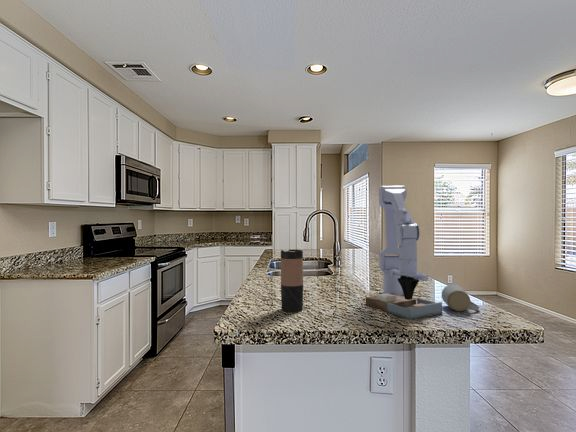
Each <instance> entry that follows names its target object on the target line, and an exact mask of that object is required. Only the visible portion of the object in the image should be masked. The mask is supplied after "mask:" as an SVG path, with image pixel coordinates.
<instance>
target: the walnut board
mask: <svg viewBox="0 0 576 432" xmlns="http://www.w3.org/2000/svg"><path fill="white" fill-rule="evenodd" d="M391 295H395V296H396V301H390V302H384V301H381V300H378V299H377V295H371V296H370V295H369V296H366V297H365V305H368V306H371V307H373V308H377V309H379V310H382V311H385V312H387V303H391V304H394V305H398V306H401V307H409V306H412V305H415V304H417V298H413V297H412V299H410V300H407V299H405V297H404V295H397V294H394V293H391Z"/></svg>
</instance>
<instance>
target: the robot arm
mask: <svg viewBox="0 0 576 432" xmlns="http://www.w3.org/2000/svg"><path fill="white" fill-rule="evenodd" d="M407 192H408V191H407V187H406V186H405V185H404V184H403V185H381V186H380V187H379V190H378V204H379V207H381V208H383V211H384V231H385V248H383V249H382V250H381V251H380V252H379V253H378V255H379V256H378V257H379V258H378V268H379V270H380V271H381V272H382V281H383V282H382V283H383V285H382V286H383V290H379V291H378V293H379V294H385V293H387V294H391V293H394V294H397V295H401V296H404V297H405V299H407V300H410V299H412V298H413V296H414V293H415V290H416V288H417V285H418V284H419V282H420V281H421V282H428V281H429V275H428V274H426V273H422V272H418V241H419V239H420V227H419V225H418V223H416V222H415V221H414V219H413V217H412V215H411V212H410V210H408V209H407V208H406V205H405V201H406V198H407Z"/></svg>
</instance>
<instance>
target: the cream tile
mask: <svg viewBox="0 0 576 432" xmlns="http://www.w3.org/2000/svg"><path fill="white" fill-rule="evenodd" d="M376 296H377V299H378V300H381V301H384V302H390V301H396V296H395V295H391V294H387V293H385V294H382V293H379V294H376Z"/></svg>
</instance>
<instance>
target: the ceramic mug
mask: <svg viewBox="0 0 576 432" xmlns="http://www.w3.org/2000/svg"><path fill="white" fill-rule="evenodd" d="M441 299H442V301H443V302H444V303H445V305H447V306H448V307H449V308H450V309H451V310H453V311H455V312H464V311H466V310H467V309H470V310H471V311H476V312H479V309H480V306H479V305H478V304H476V303H474V302H473V301H471V298H470V295H469V293H467V291H465V289H464V288H462V287H461V286H460V285H457V284H447V285H446V286H444V288H443V289H442V291H441Z"/></svg>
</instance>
